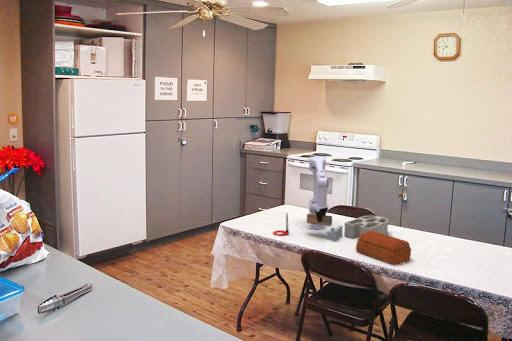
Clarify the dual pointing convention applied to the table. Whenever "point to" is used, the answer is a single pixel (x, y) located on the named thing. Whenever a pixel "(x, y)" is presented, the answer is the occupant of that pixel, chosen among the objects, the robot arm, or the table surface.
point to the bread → (384, 247)
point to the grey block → (334, 233)
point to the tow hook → (283, 231)
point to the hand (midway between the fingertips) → (320, 220)
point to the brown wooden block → (313, 220)
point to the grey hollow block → (365, 226)
